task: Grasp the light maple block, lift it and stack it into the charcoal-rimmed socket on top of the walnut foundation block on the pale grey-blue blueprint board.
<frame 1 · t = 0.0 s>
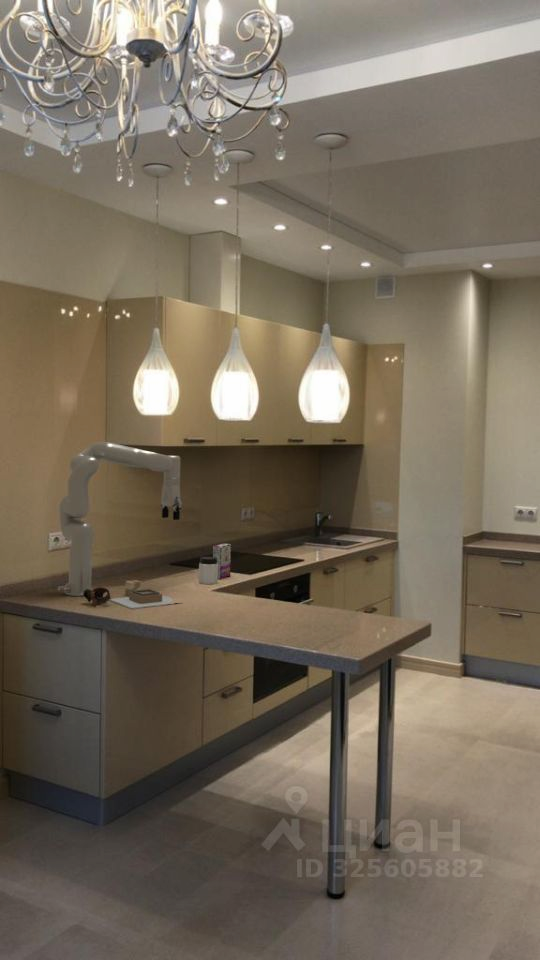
hand: (170, 518, 392), 31 cm above the counter, fingers open, 9 cm apart
brown animal figurine: (96, 605, 344), on the counter
candy bar box: (221, 577, 419), on the counter
jar: (207, 583, 403), on the counter
maple block: (133, 595, 367), on the counter
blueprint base: (145, 601, 353), on the counter
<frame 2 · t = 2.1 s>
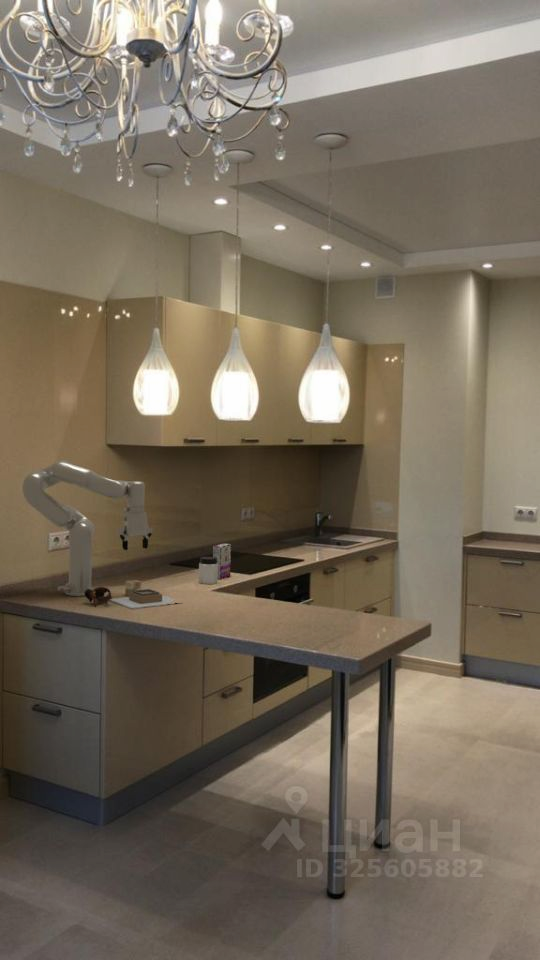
hand: (135, 548, 366), 20 cm above the counter, fingers open, 9 cm apart
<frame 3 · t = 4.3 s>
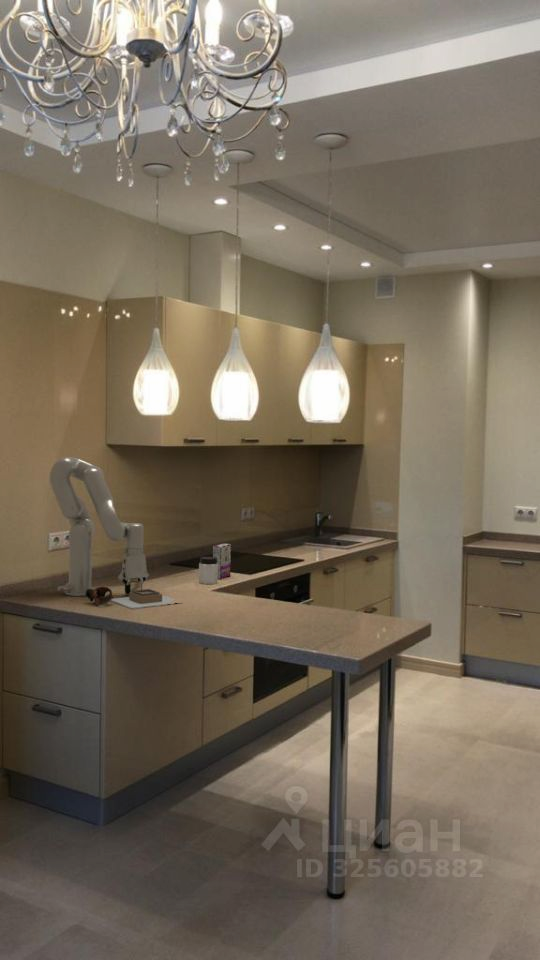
hand: (133, 592, 367), 1 cm above the counter, fingers closed on maple block, 5 cm apart
maple block: (133, 594, 367), on the counter, touching gripper
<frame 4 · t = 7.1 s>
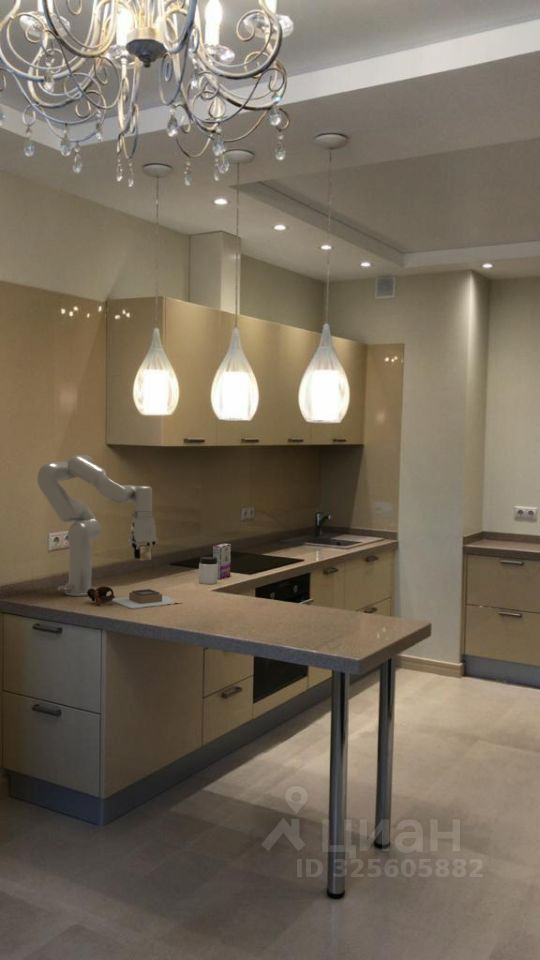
hand: (143, 557, 357), 18 cm above the counter, fingers closed on maple block, 5 cm apart
maple block: (142, 559, 357), point 17 cm above the counter, touching gripper
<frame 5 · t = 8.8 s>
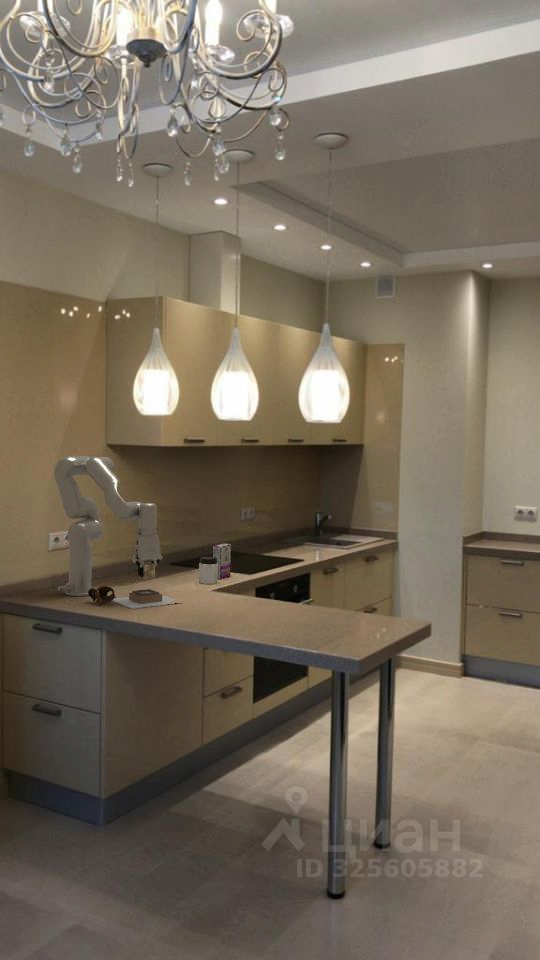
hand: (146, 575, 352), 11 cm above the counter, fingers closed on maple block, 5 cm apart
maple block: (146, 577, 352), point 10 cm above the counter, touching gripper
when the fingers open (5 cm above the counter, at t = 10.2 s): maple block stays where it is, resting on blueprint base.
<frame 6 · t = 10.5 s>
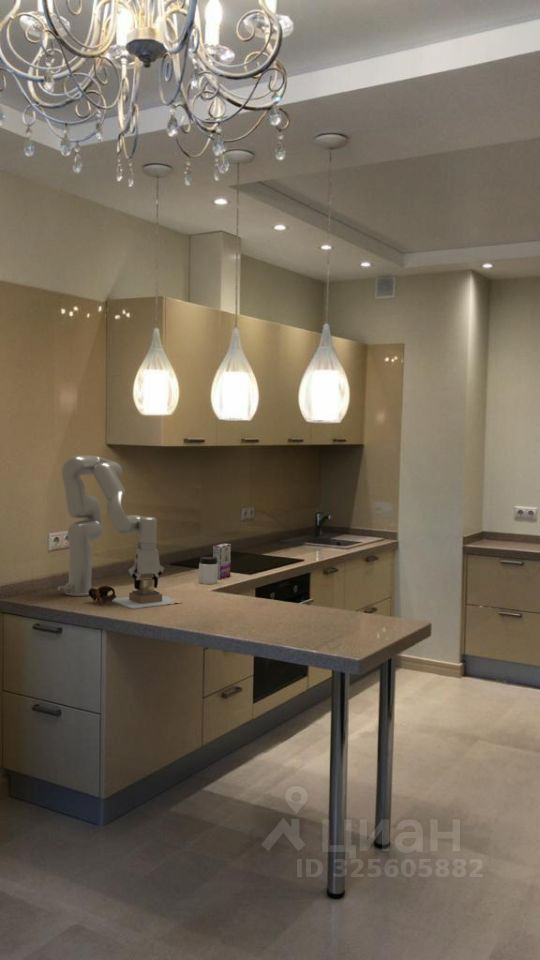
hand: (145, 588, 352), 6 cm above the counter, fingers open, 7 cm apart
maple block: (145, 593, 352), point 4 cm above the counter, touching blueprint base
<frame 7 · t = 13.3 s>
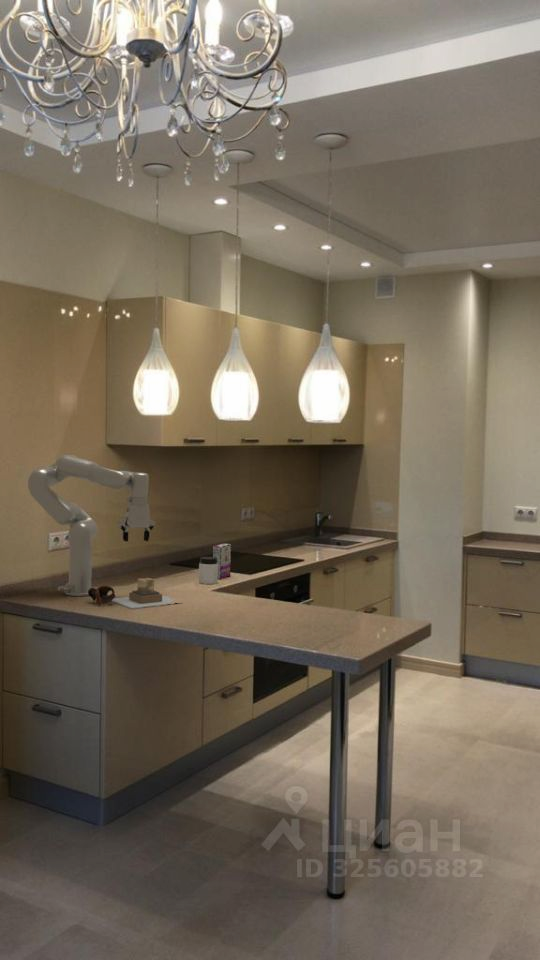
hand: (135, 540, 362), 24 cm above the counter, fingers open, 9 cm apart
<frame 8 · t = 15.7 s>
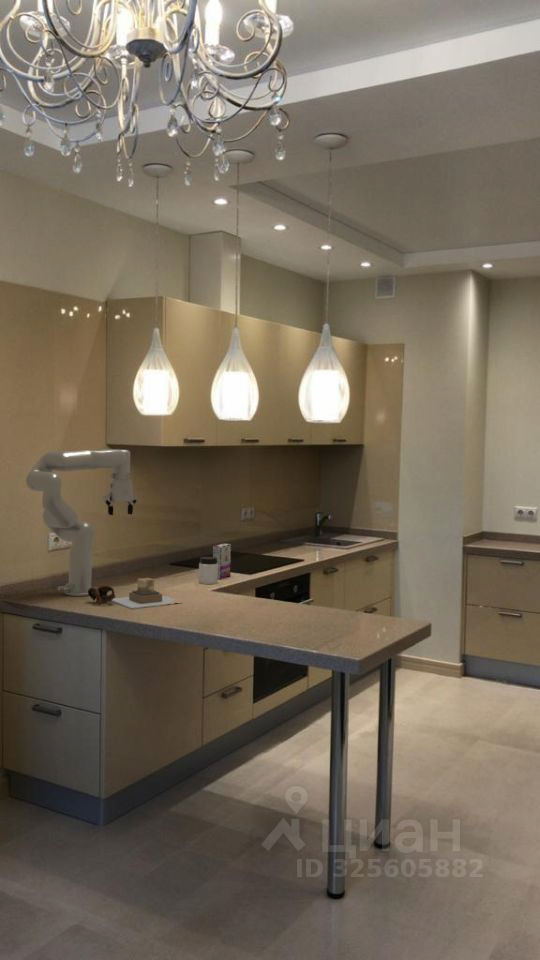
hand: (120, 514, 382), 33 cm above the counter, fingers open, 9 cm apart
at the end: maple block 0.1 cm off-centre on the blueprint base, point 3.6 cm above the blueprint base's base; maple block tilted 0°; the gripper is holding nothing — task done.
